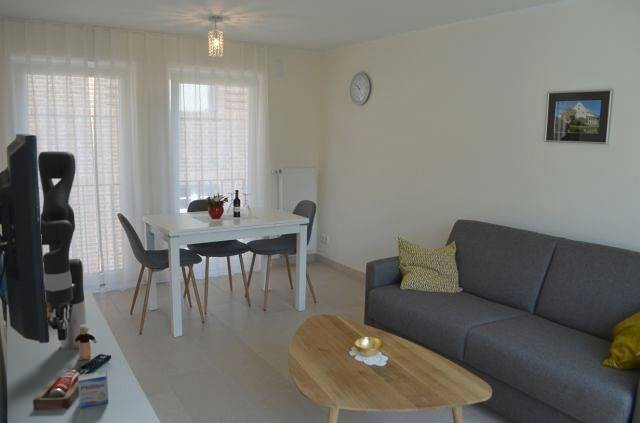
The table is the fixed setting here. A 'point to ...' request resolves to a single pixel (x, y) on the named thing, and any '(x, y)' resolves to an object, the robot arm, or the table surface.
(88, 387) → the medicine box
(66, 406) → the u rest
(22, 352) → the table surface
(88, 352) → the grandmother figurine
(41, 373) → the table surface
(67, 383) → the soda can
